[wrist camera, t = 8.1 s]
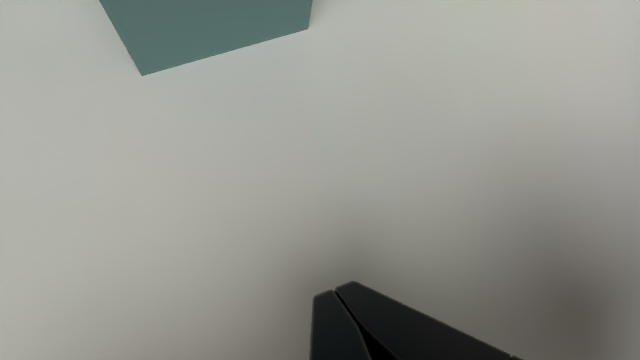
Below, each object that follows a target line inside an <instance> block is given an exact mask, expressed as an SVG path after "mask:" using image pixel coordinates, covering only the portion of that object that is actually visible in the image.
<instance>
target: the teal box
mask: <svg viewBox="0 0 640 360" xmlns="http://www.w3.org/2000/svg"><path fill="white" fill-rule="evenodd" d="M100 2H101V4H102V6H103V8H104V9H105V11H106V13H107V15H108V17H109V18H110V20H111V22H112V24H113V25H114V27H115V29H116V31H117V33H118V34H119V36H120V38H121V40H122V41H123V43H124V45H125V47H126V49H127V50H128V52H129V54H130V56H131V58H132V59H133V61H134V63H135V65H136V66H137V68H138V70H139V72H140V74H141V75H142V76H144V75H147V74H151V73H154V72H158V71H161V70H165V69H168V68H172V67H175V66H179V65H182V64H186V63H189V62H193V61H197V60H200V59H204V58H207V57H211V56H214V55H218V54H221V53H225V52H228V51H232V50H235V49H239V48H242V47H246V46H250V45H253V44H257V43H260V42H264V41H267V40H271V39H274V38H278V37H281V36H285V35H288V34H292V33H295V32H299V31H303V30H306V29H308V24H309V18H310V12H311V5H312V0H100Z"/></svg>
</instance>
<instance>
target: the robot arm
mask: <svg viewBox="0 0 640 360" xmlns="http://www.w3.org/2000/svg"><path fill="white" fill-rule="evenodd" d="M309 360H522V359H520V358H518V357H516V356H512V357H510V354H508V353H506V352H504V351H502V350H500V349H498V348H495V347H493V346H491V345H489V344H487V343H485V342H483V341H481V340H479V339H476V338H474V337H472V336H470V335H468V334H466V333H464V332H462V331H459V330H457V329H455V328H453V327H451V326H449V325H447V324H445V323H443V322H440V321H438V320H436V319H434V318H432V317H430V316H428V315H426V314H424V313H421V312H419V311H417V310H415V309H413V308H411V307H409V306H407V305H404V304H402V303H400V302H398V301H396V300H394V299H392V298H390V297H388V296H385V295H383V294H381V293H379V292H377V291H375V290H373V289H371V288H369V287H366V286H364V285H362V284H360V283H358V282H355V281H351V282H348V283H346V284H343V285H341V286H338V287H336V289H335V291H333V290H328V291H326V292H323V293H321V294H318V295H316V296H314V298H313V305H312V322H311V339H310V357H309Z"/></svg>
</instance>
